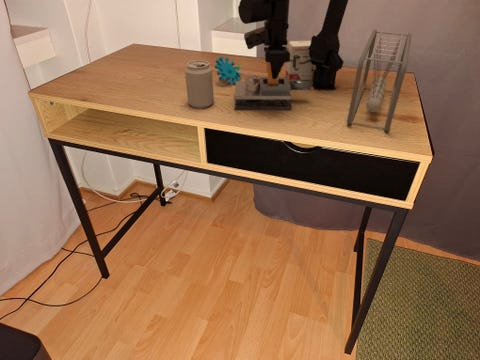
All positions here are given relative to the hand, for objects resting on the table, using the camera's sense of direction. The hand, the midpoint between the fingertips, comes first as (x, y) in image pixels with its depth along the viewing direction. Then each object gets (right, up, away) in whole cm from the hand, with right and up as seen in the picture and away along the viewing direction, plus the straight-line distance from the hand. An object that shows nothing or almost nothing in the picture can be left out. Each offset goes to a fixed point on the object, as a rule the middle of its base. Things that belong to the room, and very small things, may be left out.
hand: (274, 77), depth 101 cm
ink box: (+10, +4, +18) cm, 21 cm away
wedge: (0, -3, +2) cm, 3 cm away
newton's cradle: (+28, -9, +1) cm, 30 cm away
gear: (-13, +3, +17) cm, 22 cm away
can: (-21, -7, +3) cm, 22 cm away
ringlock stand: (0, -6, +4) cm, 7 cm away
